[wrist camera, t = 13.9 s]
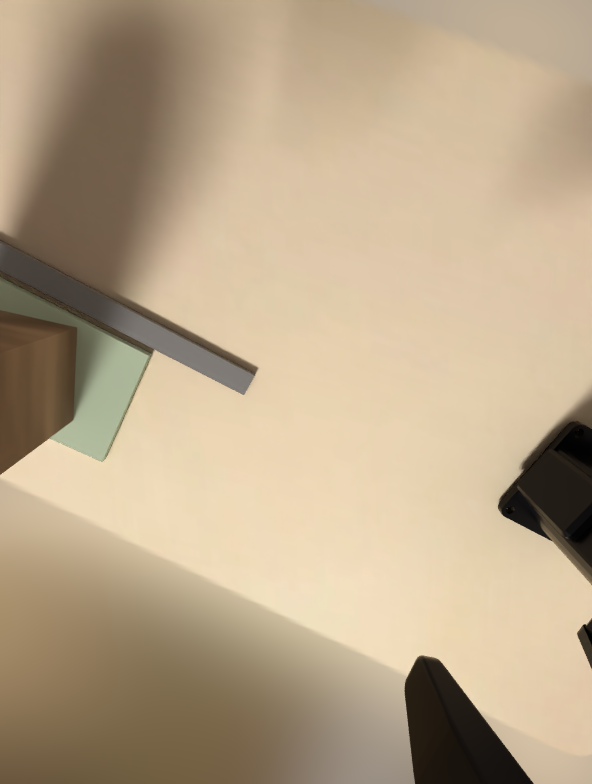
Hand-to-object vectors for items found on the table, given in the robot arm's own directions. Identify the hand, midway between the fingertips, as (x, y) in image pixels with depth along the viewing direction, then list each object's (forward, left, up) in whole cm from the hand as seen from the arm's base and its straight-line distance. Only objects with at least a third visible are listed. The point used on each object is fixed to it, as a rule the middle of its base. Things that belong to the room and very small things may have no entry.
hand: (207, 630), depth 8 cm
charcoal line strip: (+12, -1, -13) cm, 18 cm away
